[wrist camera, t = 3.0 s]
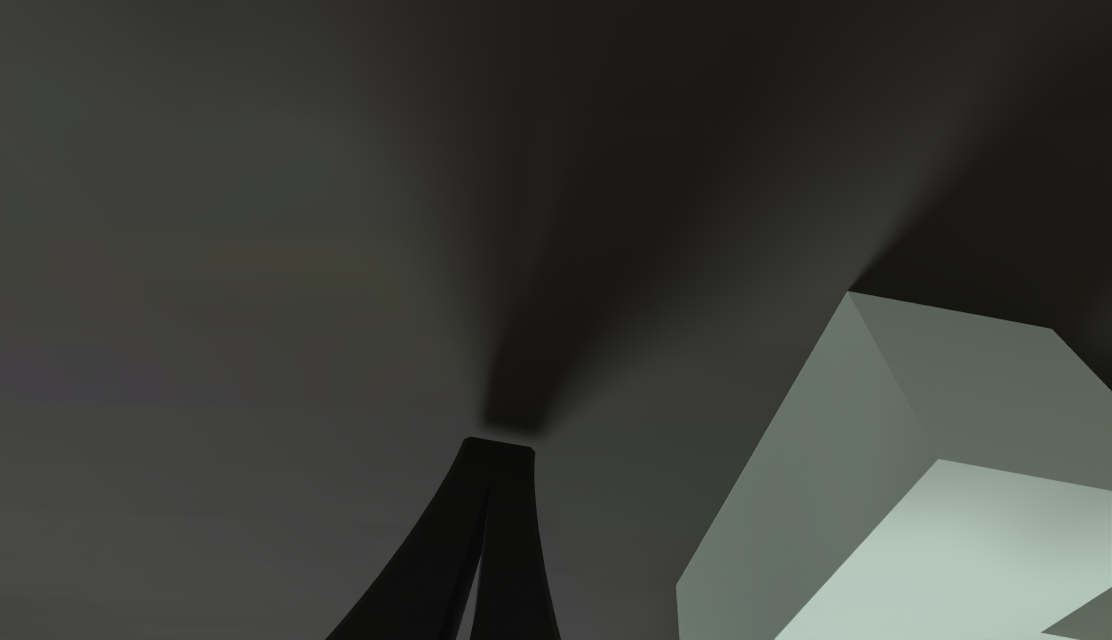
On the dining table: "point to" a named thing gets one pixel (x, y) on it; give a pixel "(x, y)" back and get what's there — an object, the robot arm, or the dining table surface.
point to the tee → (918, 491)
